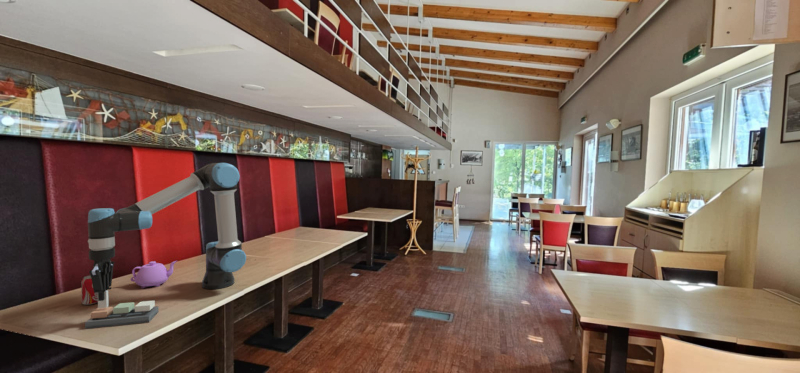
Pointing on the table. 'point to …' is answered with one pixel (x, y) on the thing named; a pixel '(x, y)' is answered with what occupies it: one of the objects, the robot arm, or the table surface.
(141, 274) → the teapot
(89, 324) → the grey rectangular tray
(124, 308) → the sage key
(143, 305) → the ivory key
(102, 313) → the terracotta key
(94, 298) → the beverage can
